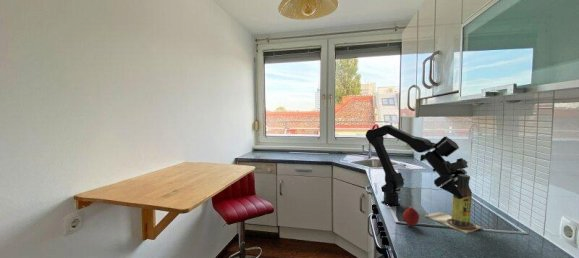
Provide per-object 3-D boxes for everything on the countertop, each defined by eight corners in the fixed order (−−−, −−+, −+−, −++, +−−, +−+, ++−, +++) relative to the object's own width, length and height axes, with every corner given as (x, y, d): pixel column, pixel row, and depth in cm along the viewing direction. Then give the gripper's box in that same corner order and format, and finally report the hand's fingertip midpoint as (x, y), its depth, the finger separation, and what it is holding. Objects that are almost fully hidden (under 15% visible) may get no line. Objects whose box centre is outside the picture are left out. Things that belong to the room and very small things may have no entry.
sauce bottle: (464, 228, 98) (467, 178, 97) (447, 222, 104) (450, 174, 103) (473, 225, 102) (476, 176, 100) (456, 219, 107) (459, 172, 106)
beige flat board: (425, 216, 111) (425, 214, 111) (440, 213, 116) (441, 211, 115) (465, 233, 96) (465, 231, 96) (482, 228, 100) (482, 226, 100)
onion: (415, 223, 105) (416, 204, 104) (421, 229, 99) (421, 209, 98) (400, 222, 105) (401, 203, 105) (405, 228, 99) (406, 208, 99)
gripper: (444, 153, 98) (476, 189, 90) (462, 150, 109) (492, 181, 101) (422, 170, 105) (450, 204, 97) (442, 165, 116) (468, 195, 108)
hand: (466, 195), depth 101 cm, fingers open, 9 cm apart
